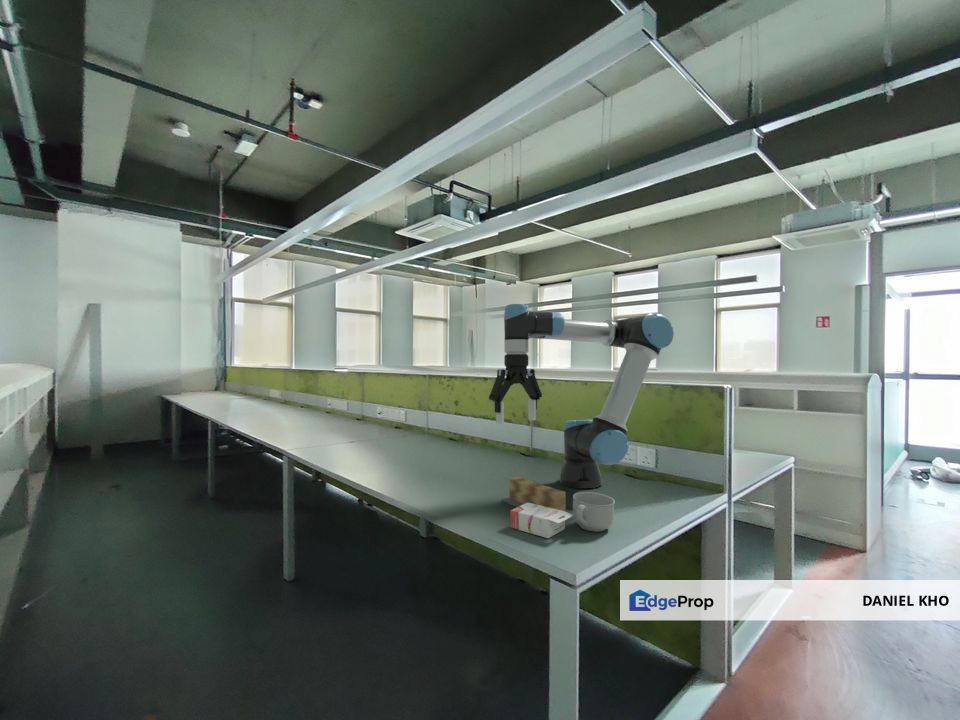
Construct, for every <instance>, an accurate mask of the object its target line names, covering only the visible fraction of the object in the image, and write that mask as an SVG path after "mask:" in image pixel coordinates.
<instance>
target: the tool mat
mask: <svg viewBox="0 0 960 720" xmlns="http://www.w3.org/2000/svg"><path fill="white" fill-rule="evenodd" d="M501 502H504V503H505V504H508V505H511V506H514V508H517V507H519V506H521V505H523V504H524V503H521V502H519V501H516V500H514V499H511V498H510V496H506V497H502V498H501ZM566 512H568V513H571V514H573V510H571V509H568V508H566ZM564 517H565V516H564Z"/></svg>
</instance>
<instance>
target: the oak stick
mask: <svg viewBox="0 0 960 720" xmlns="http://www.w3.org/2000/svg"><path fill="white" fill-rule="evenodd" d="M566 495H567V493H566V491H564V490H560V489H557V488H555V487H551V486H548V485H545V484H542V483H538V482H535V481H532V480H529V479H526V478H523V477H520V476H518V477H513V478H509V497H510V498H511V499H514V500H516V501H519V502H521V503H524V504H525V503H532V504H536V505H541V506H545V507H549V508H553V509H558V510H562V511H565V512H566V509H567V507H566V505H567V503H566V502H567V499H566V498H567V497H566Z"/></svg>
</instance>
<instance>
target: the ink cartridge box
mask: <svg viewBox="0 0 960 720" xmlns="http://www.w3.org/2000/svg"><path fill="white" fill-rule="evenodd" d="M509 512H510V513H509V515H510V516H509V517H510V529H514V530H518V531H522V532H524V533H525V532H526V533H529V534H531V535H536V536H538V537H539V536H540V537H542V538H544V539H545V538H546V539H550V538H551V537H553V536H556V534H559V533H561V532H562V531H564V530H566V524H565V522H566V521H567V520H568V519H570V518H572V517H573V516H574V515H573V514H571V513H568V512H565V511H562V510H558V509H553V508H549V507H545V506H541V505H536V504H532V503H525V504H523V505H521V506H519V507H514V508H513V509H511V510H510V511H509ZM564 516H565V517H564Z"/></svg>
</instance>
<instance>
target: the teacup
mask: <svg viewBox="0 0 960 720" xmlns="http://www.w3.org/2000/svg"><path fill="white" fill-rule="evenodd" d="M615 504H616V500H615V499H614V498H612V497H611V496H609V495H606V494H603V493H601V492H593V491H580V492H575V493H573V494H572V511H573V515H574V516H572V517H573V520H574V522H576V524H577V525H579V527H580V528H581V529H583V530H586V531H589V532H595V533H596V532H597V533H598V532H599V533H600V532H603V531H606V529H608V528H610V527H611V526H612V524H613V521H614V516H615V515H614V514H615Z"/></svg>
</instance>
